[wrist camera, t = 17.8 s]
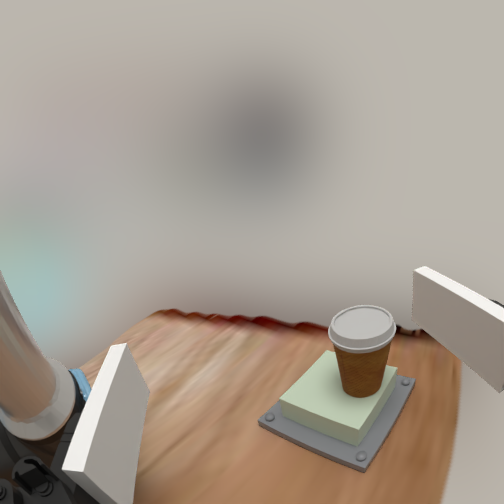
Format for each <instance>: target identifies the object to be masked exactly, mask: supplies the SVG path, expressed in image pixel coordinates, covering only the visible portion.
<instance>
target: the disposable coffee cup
mask: <svg viewBox="0 0 504 504" xmlns="http://www.w3.org/2000/svg"><path fill="white" fill-rule="evenodd" d="M395 332H396V324H395V322H394V321H393V318H392V315H391V314H390V313H389V312H388V311H387V310H385V309H383V308H381V307H377V306H372V305H359V306H353V307H350V308H347V309H344V310H342V311H340V312H339V313H337V314H336V315H335V316H334V317H333V319H332V322H331V325H330V327H329V329H328V335H329V338H330V340H331V341H332V343H333V345H334V349H335V354H336V358H337V363H338V368H339V373H340V377H341V382H342V387H343V390H344V392H345V393H346V394H348V395H350V396H352V397H356V398H364V397H369V396H371V395H373V394H375V393H376V392H377V391H378V390H379V389H380V387H381V384H382V380H383V376H384V372H385V368H386V363H387V359H388V354H389V350H390V345H391V340H392V338H393V336H394V334H395Z"/></svg>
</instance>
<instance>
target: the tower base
mask: <svg viewBox="0 0 504 504" xmlns="http://www.w3.org/2000/svg"><path fill="white" fill-rule="evenodd" d="M415 381H416V379H414V378H409V377H405V376H400V375H397V368H396V367H392V366H387V365H386V368H385V372H384V376H383V380H382V384H381V387H380V389H379V390H378V391H377V392H376V393H375V394H373V395H371V396H369V397H364V398H356V397H352V396H350V395H348V394H346V393H345V392H344V390H343V387H342V382H341V377H340V373H339V368H338V363H337V358H336V354H335V352H331V351H328V350H327V351H326V352H325V353H324V354H323V355H322V356H321V357H320V358H319V359H318V360H317V361H316V362H315V363H314V364H313V365H312V366H311V367H310V368H309V369H308V371H307V372H306V373H305V374H304V375H303V376H302V377H301V378H300V379H299V380H298V381H297V382H296V383H295V384H294V385H293V386H292V387H290V388H289V389H288V390H287V391H286V392H285V393H284V394H283V395H282V396H281V397H280V398H279V401H278V402H277V403H276V404H275V405H274V406H273V407H271V408H270V409H269V410H268V411H267V412H266V413H265V414H264V415H263V416H262V417H260V418H259V419H258V423H259V426H261V427H263V428H265V429H267V430H269V431H271V432H273V433H275V434H276V435H278V436H280V437H282V438H284V439H286V440H288V441H290V442H293V443H295V444H297V445H299V446H301V447H303V448H305V449H307V450H310V451H312V452H314V453H316V454H318V455H321V456H323V457H325V458H328V459H330V460H333V461H335V462H337V463H340V464H342V465H345V466H347V467H350V468H353V469H355V470H358V471H361V472H363V473H365V471H366V470H367V468H368V467H369V465H370V464H371V462H372V461H373V459H374V458H375V456H376V454H377V453H378V451H379V450H380V448H381V446H382V445H383V443H384V442H385V440H386V438H387V437H388V435H389V433H390V431H391V430H392V428H393V426H394V424H395V423H396V421H397V419H398V417H399V415H400V413H401V411H402V409H403V408H404V406H405V404H406V402H407V400H408V398H409V396H410V394H411V392H412V390H413V387H414V385H415Z"/></svg>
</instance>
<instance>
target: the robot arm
mask: <svg viewBox="0 0 504 504" xmlns="http://www.w3.org/2000/svg"><path fill="white" fill-rule="evenodd" d="M413 272H414V273H413V304H412V321H413V322H415V323H416V324H417V325H418V326H420V327H421V328H422V329H423V330H425V331H426V332H427V333H428V334H430V335H431V336H432V337H433V338H435V339H436V340H437V341H438V342H440V343H441V344H442V345H443V346H444V347H446V348H447V349H448V350H449V351H451V352H452V353H453V354H454V355H455V356H457V357H458V358H459V359H460V360H461V361H463V362H464V363H465V364H466V365H467V366H468V367H470V368H471V369H472V370H473V371H475V372H476V373H477V374H478V375H479V376H480V377H481V378H483V379H484V380H485V381H486V382H487V383H488V384H489V385H491V386H492V387H493V388H494V389H495V390H496V391H498V392H499V393H500V392H501V391H503V390H504V305H502V304H500V303H499V302H497V301H494V300H490V299H487V298H485V297H483V296H481V295H480V294H478V293H476V292H474V291H472V290H470V289H468V288H467V287H465V286H463V285H461V284H459V283H457V282H455V281H453V280H451V279H450V278H448V277H446V276H444V275H442V274H440V273H438V272H436V271H434V270H432V269H430V268H428V267H426V266H424V267H421V268H418V269H416V270H414V271H413ZM149 393H150V391H149V389H148V387H147V385H146V383H145V381H144V379H143V377H142V375H141V373H140V371H139V369H138V367H137V365H136V362H135V360H134V358H133V356H132V354H131V352H130V349H129V347H128V345H127V343H124V344H118V345H112V346H111V347H110V349H109V352H108V354H107V356H106V358H105V360H104V362H103V365H102V367H101V369H100V371H99V374H98V376H97V378H96V380H95V383H94V385H93V387H92V389H91V387H90V385H89V383H88V381H87V379H86V377H85V375H84V373H83V372H82V370H80V369H70V370H67V369H66V368H65V366H64V365H63V364H61V363H60V362H59V361H57V360H55V359H53V358H50V357H45V356H44V354H43V353H42V351H41V349H40V348H39V346H38V344H37V343H36V341H35V339H34V338H33V336H32V334H31V332H30V331H29V329H28V327H27V325H26V324H25V322H24V320H23V318H22V316H21V314H20V312H19V310H18V308H17V306H16V304H15V302H14V300H13V298H12V296H11V294H10V291H9V289H8V287H7V285H6V282H5V280H4V278H3V276H2V273H1V271H0V504H133V497H134V488H135V480H136V472H137V465H138V458H139V451H140V444H141V438H142V432H143V426H144V420H145V414H146V409H147V403H148V398H149Z"/></svg>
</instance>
